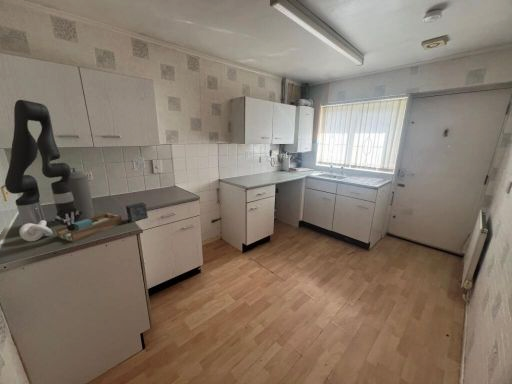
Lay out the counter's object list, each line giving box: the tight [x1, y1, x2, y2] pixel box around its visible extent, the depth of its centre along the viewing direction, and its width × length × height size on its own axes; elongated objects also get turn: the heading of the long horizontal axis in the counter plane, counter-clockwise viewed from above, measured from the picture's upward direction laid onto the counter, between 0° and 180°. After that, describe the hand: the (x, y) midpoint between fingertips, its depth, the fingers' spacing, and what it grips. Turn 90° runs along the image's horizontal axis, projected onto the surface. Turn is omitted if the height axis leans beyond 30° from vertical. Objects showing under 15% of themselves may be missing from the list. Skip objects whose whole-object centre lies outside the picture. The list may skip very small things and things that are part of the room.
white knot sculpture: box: [18, 219, 53, 242], centre depth 113 cm, size 11×12×9 cm
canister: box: [69, 167, 95, 222], centre depth 137 cm, size 13×13×35 cm
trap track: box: [55, 212, 123, 243], centre depth 124 cm, size 14×27×5 cm, turn 158°
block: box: [74, 219, 93, 231], centre depth 119 cm, size 5×7×4 cm
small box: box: [125, 202, 149, 223], centre depth 140 cm, size 11×6×10 cm, turn 141°
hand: (71, 230), depth 114 cm, fingers closed
